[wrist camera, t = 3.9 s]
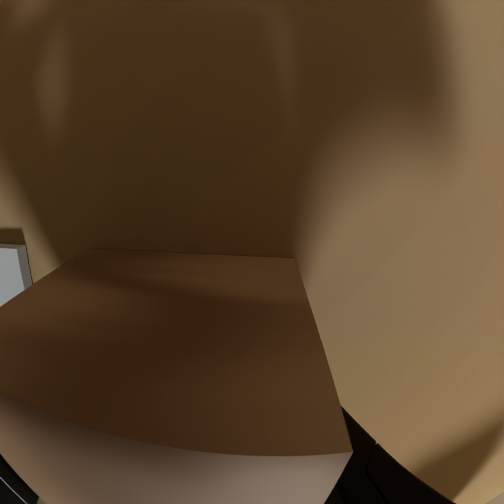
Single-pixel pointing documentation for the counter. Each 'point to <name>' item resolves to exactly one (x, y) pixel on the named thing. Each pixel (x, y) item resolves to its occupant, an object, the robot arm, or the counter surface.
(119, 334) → the walnut cube
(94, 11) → the counter surface
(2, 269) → the card
